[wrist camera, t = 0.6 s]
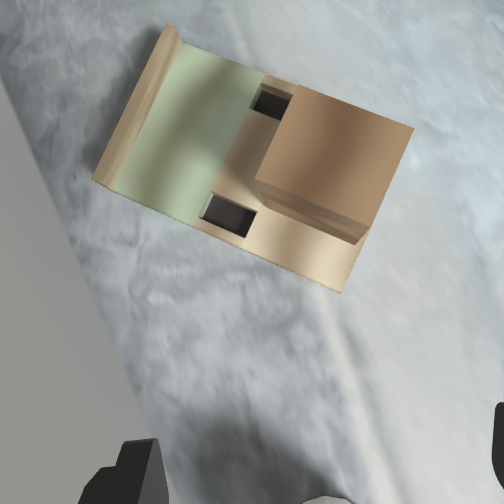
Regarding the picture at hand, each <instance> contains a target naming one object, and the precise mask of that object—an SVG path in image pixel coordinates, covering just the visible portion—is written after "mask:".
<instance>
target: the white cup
mask: <svg viewBox="0 0 504 504" xmlns="http://www.w3.org/2000/svg"><path fill="white" fill-rule="evenodd" d="M303 504H352V503H350V502H349V501H348V500H346V499H342V498H336V497H330V496H321V497H318V498H315V499H312V500H309V501H305V502H304V503H303Z"/></svg>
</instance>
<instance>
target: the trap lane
mask: <svg viewBox="0 0 504 504" xmlns="http://www.w3.org/2000/svg"><path fill="white" fill-rule="evenodd" d="M296 88H297V86H296V85H294V84H291V83H288V82H286V81H283V80H280V79H278V78H275V77H272V76H270V75H267V74H265V73H262V72H259V71H257V70H254V69H251V68H249V67H246V66H243V65H241V64H238V63H236V62H233V61H230V60H228V59H225V58H222V57H220V56H217V55H214V54H212V53H209V52H206V51H204V50H201V49H199V48H196V47H193V46H191V45H188V44H185V43H183V42H182V40H181V38H180V36H179V34H178V32H177V30H176V28H175V27H173V26H171V25H168V24H166V25H165V27H164V29H163V31H162V33H161V35H160V37H159V39H158V41H157V43H156V46H155V48H154V50H153V52H152V54H151V56H150V58H149V60H148V62H147V64H146V66H145V68H144V70H143V72H142V75H141V77H140V79H139V81H138V83H137V85H136V87H135V89H134V91H133V93H132V95H131V97H130V99H129V101H128V103H127V106H126V108H125V110H124V112H123V114H122V116H121V118H120V120H119V122H118V124H117V126H116V128H115V130H114V132H113V135H112V137H111V139H110V141H109V143H108V145H107V147H106V149H105V151H104V153H103V155H102V157H101V159H100V161H99V163H98V166H97V168H96V170H95V172H94V174H93V176H92V178H91V179H92V180H93V181H95V182H97V183H99V184H100V185H102V186H104V187H106V188H107V189H109V190H111V191H113V192H115V193H117V194H120V195H122V196H124V197H126V198H129V199H131V200H133V201H135V202H137V203H140V204H142V205H144V206H146V207H149V208H151V209H153V210H155V211H158V212H160V213H162V214H164V215H166V216H169V217H171V218H173V219H175V220H178V221H180V222H182V223H184V224H186V225H189V226H191V227H193V228H195V229H198V230H200V231H202V232H204V233H207V234H209V235H211V236H213V237H215V238H218V239H220V240H222V241H224V242H227V243H229V244H231V245H233V246H236V247H238V248H240V249H242V250H244V251H247V252H249V253H251V254H253V255H256V256H258V257H260V258H262V259H265V260H267V261H269V262H271V263H273V264H276V265H278V266H280V267H282V268H285V269H287V270H289V271H291V272H294V273H296V274H298V275H300V276H302V277H305V278H307V279H309V280H311V281H314V282H316V283H318V284H320V285H322V286H325V287H327V288H329V289H331V290H334V291H336V292H338V293H342V291H343V289H344V287H345V284H346V282H347V280H348V278H349V275H350V273H351V271H352V269H353V266H354V264H355V262H356V260H357V257H358V255H359V253H360V251H361V248H362V246H363V244H364V242H365V239H366V237H367V235H368V233H369V230H370V229H369V230H368V231H367V232H366V233H365V234H364V236H363V237H362V238H361V239H360V240H359V241H358V243H357V244H356V245H352V244H350V243H348V242H345V241H343V240H341V239H338V238H336V237H334V236H331V235H329V234H327V233H324V232H322V231H320V230H317V229H315V228H313V227H310V226H308V225H306V224H303V223H301V222H299V221H296V220H294V219H292V218H289V217H287V216H285V215H282V214H280V213H278V212H275V211H273V210H271V209H268V208H267V207H266V205H265V202H264V200H263V198H262V195H261V193H260V190H259V188H258V185H257V183H256V181H255V177H256V174H257V172H258V170H259V168H260V166H261V164H262V161H263V159H264V157H265V155H266V153H267V151H268V148H269V146H270V144H271V142H272V140H273V138H274V135H275V133H276V131H277V129H278V127H279V125H280V122H281V120H282V118H283V116H284V114H285V112H286V109H287V107H288V105H289V103H290V101H291V99H292V96H293V94H294V92H295V90H296ZM411 136H412V135H411ZM407 145H408V144H407ZM403 154H404V153H403ZM399 163H400V162H399ZM395 172H396V171H395ZM391 181H392V180H391ZM388 188H389V187H388ZM384 197H385V196H384ZM380 206H381V205H380ZM376 215H377V214H376ZM372 224H373V223H372ZM370 228H371V227H370Z"/></svg>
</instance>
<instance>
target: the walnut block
mask: <svg viewBox="0 0 504 504" xmlns="http://www.w3.org/2000/svg"><path fill="white" fill-rule="evenodd" d="M413 131H414V128H412V127H409V126H406V125H404V124H401V123H398V122H396V121H393V120H390V119H388V118H385V117H382V116H380V115H377V114H375V113H372V112H369V111H367V110H364V109H361V108H359V107H356V106H353V105H351V104H348V103H345V102H343V101H340V100H338V99H335V98H332V97H330V96H327V95H324V94H322V93H319V92H316V91H314V90H311V89H308V88H306V87H303V86H301V85H298V86H297V88H296V90H295V92H294V94H293V96H292V99H291V101H290V103H289V105H288V107H287V109H286V112H285V114H284V116H283V118H282V120H281V122H280V125H279V127H278V129H277V131H276V133H275V135H274V138H273V140H272V142H271V144H270V146H269V148H268V151H267V153H266V155H265V157H264V159H263V161H262V164H261V166H260V168H259V170H258V172H257V174H256V177H255V181H256V183H257V185H258V188H259V190H260V193H261V195H262V198H263V200H264V202H265V205H266V207H267V208H268V209H271V210H273V211H275V212H278V213H280V214H282V215H285V216H287V217H289V218H292V219H294V220H296V221H299V222H301V223H303V224H306V225H308V226H310V227H313V228H315V229H317V230H320V231H322V232H324V233H327V234H329V235H331V236H334V237H336V238H338V239H341V240H343V241H345V242H348V243H350V244H352V245H356V244H357V243H358V241H359V240H360V239H361V238H362V237H363V236H364V234H365V233H366V232H367V231H368V230H369V229H370V227H371V226H372V223H373V221H374V219H375V217H376V214H377V212H378V210H379V208H380V205H381V203H382V201H383V199H384V196H385V194H386V192H387V190H388V187H389V185H390V183H391V180H392V178H393V176H394V174H395V171H396V169H397V167H398V165H399V162H400V160H401V158H402V156H403V153H404V151H405V149H406V147H407V144H408V142H409V140H410V138H411V135H412V133H413Z"/></svg>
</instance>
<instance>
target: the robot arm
mask: <svg viewBox="0 0 504 504" xmlns="http://www.w3.org/2000/svg"><path fill="white" fill-rule="evenodd" d="M492 464H493V468H494V471H495V474H496V477H497V479H498V481H499V483H500V484H501V486H502V487H503V489H504V402H500V403H498V404H497V405H496V408H495V416H494V430H493V443H492ZM78 504H169V494H168V487H167V482H166V477H165V471H164V466H163V461H162V456H161V450H160V445H159V442H158V439H157V438H152V439H142V440H134V441H125V442H124V443H123V445H122V447H121V450H120V453H119V456H118V459H117V462H116V466H113V467H104V468H100V470H99V471H98V472H97V473H96V474H95V475H94V477H93V478H92V479H91V480H90V481H89V482H88V484H87V485H86V486H85V487H84V490H83V492H82V495H81V497H80V500H79V502H78Z"/></svg>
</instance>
